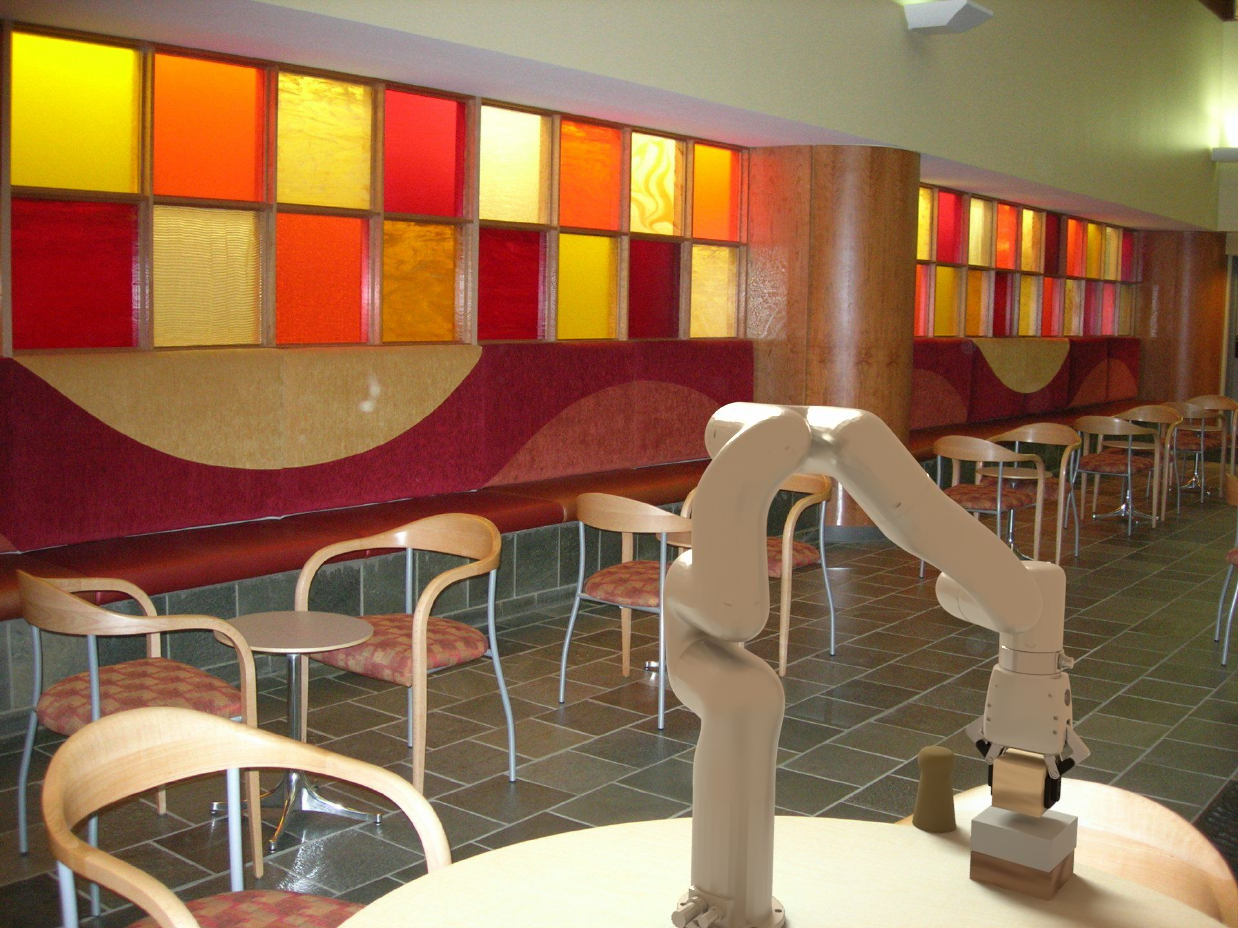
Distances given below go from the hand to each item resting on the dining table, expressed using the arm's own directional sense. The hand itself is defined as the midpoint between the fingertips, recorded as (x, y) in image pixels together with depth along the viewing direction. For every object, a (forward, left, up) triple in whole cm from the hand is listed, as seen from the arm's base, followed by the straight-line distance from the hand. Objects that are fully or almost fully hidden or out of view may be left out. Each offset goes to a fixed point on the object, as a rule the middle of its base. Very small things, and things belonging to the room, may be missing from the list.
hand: (1023, 797), depth 151 cm
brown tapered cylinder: (+9, +15, -10) cm, 20 cm away
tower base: (0, 0, -11) cm, 11 cm away
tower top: (0, 0, -7) cm, 7 cm away
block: (0, 0, -1) cm, 1 cm away
